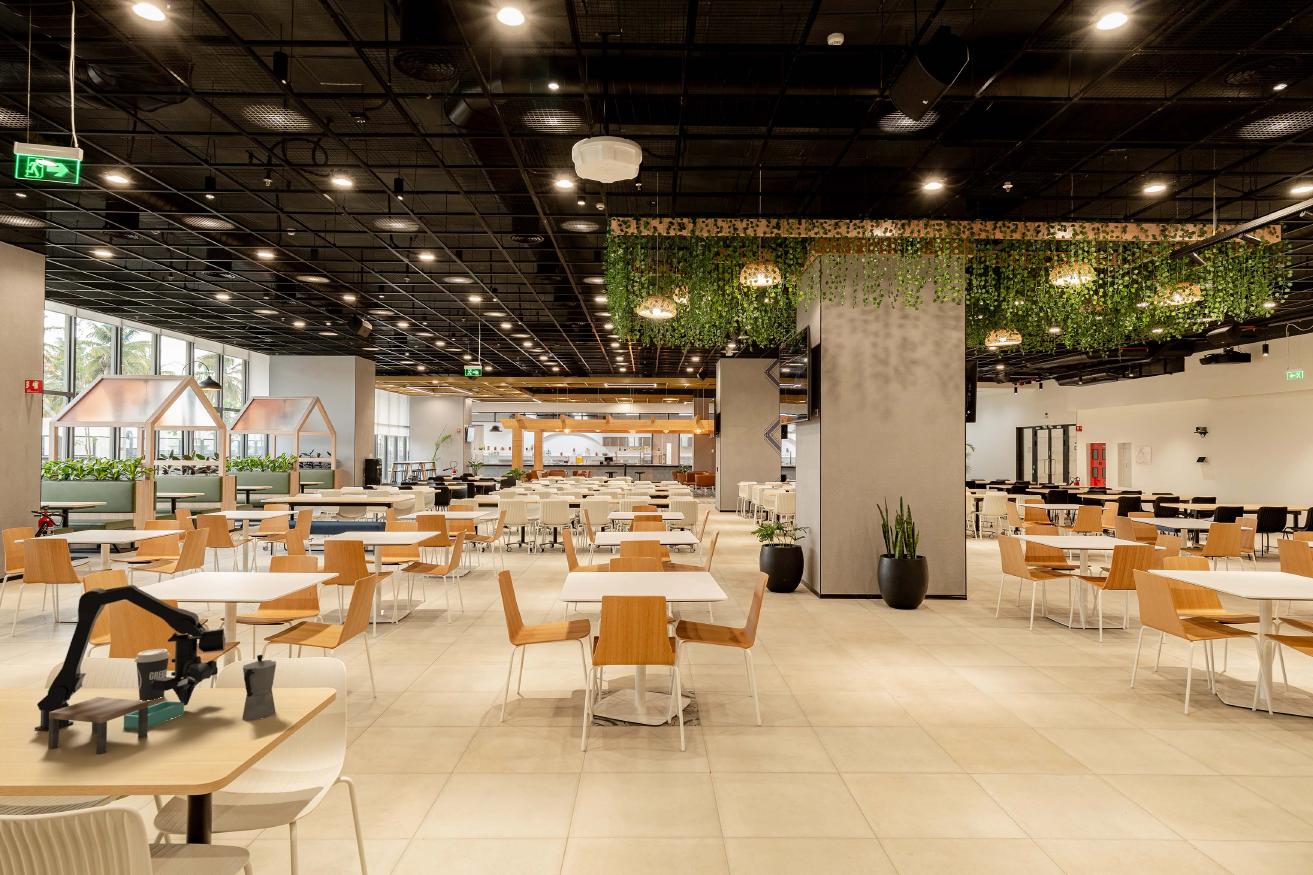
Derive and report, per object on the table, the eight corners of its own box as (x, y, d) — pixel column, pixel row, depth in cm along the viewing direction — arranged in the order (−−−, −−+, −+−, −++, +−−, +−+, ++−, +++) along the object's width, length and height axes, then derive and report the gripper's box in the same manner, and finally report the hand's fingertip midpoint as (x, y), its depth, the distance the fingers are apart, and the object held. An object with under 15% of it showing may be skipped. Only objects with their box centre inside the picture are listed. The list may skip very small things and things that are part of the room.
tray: (123, 729, 204) (123, 714, 204) (166, 713, 217) (166, 700, 217) (142, 731, 202) (142, 717, 202) (183, 715, 215) (184, 702, 215)
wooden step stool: (48, 748, 189) (49, 712, 190) (97, 730, 202) (98, 696, 202) (100, 754, 185) (101, 716, 185) (147, 735, 198) (148, 700, 198)
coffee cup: (139, 705, 224) (140, 657, 225) (129, 699, 230) (130, 652, 231) (174, 697, 232) (175, 650, 233) (163, 691, 238) (164, 646, 238)
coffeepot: (253, 708, 220) (253, 649, 221) (284, 707, 221) (285, 648, 222) (227, 726, 205) (228, 663, 205) (262, 724, 205) (262, 661, 206)
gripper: (180, 663, 209) (179, 717, 208) (232, 648, 227) (231, 697, 227) (150, 661, 212) (148, 714, 211) (203, 646, 230) (202, 695, 229)
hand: (185, 704), depth 219 cm, fingers closed
